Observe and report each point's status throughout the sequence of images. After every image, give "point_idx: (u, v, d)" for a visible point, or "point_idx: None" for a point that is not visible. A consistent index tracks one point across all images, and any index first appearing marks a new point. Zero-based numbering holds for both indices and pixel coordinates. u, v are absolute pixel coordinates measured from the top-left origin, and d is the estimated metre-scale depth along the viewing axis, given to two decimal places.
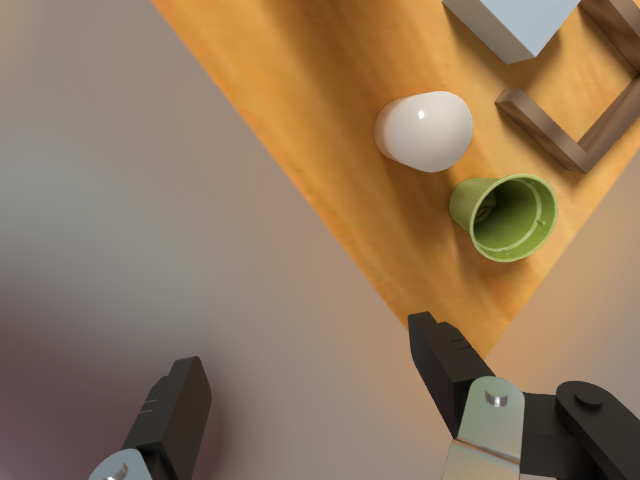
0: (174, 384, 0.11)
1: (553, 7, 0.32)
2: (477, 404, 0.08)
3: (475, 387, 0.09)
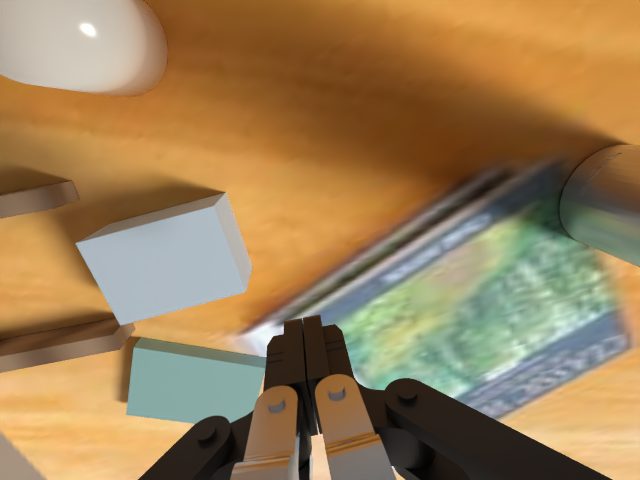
0: (294, 339, 0.12)
1: (124, 285, 0.25)
2: (316, 399, 0.09)
3: (318, 394, 0.09)
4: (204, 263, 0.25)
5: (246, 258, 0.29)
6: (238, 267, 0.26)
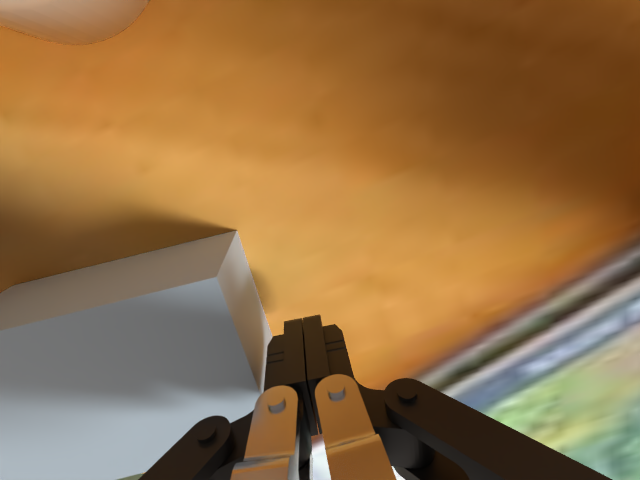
0: (294, 339, 0.12)
1: (19, 434, 0.12)
2: (315, 399, 0.09)
3: (318, 393, 0.09)
4: (192, 391, 0.12)
5: None
6: (263, 390, 0.13)
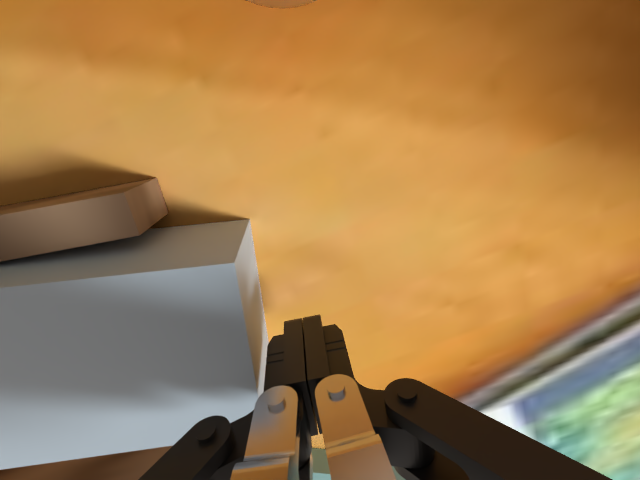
0: (294, 339, 0.12)
1: None
2: (315, 399, 0.09)
3: (318, 393, 0.09)
4: (188, 374, 0.11)
5: (265, 342, 0.16)
6: (258, 382, 0.12)
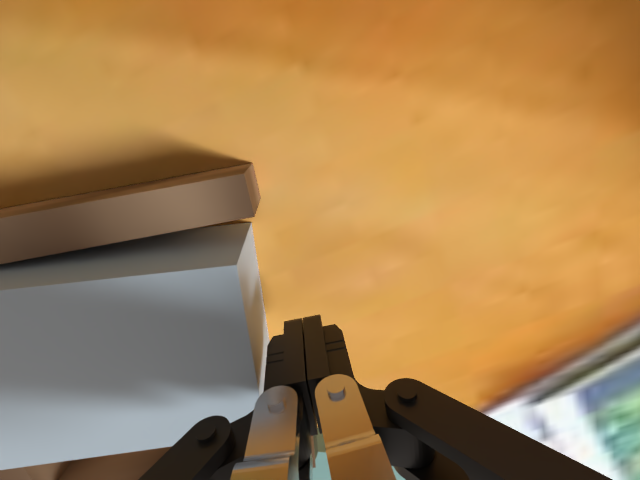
0: (294, 339, 0.12)
1: (4, 398, 0.11)
2: (316, 399, 0.09)
3: (318, 394, 0.09)
4: (191, 375, 0.12)
5: (266, 343, 0.16)
6: (259, 383, 0.13)
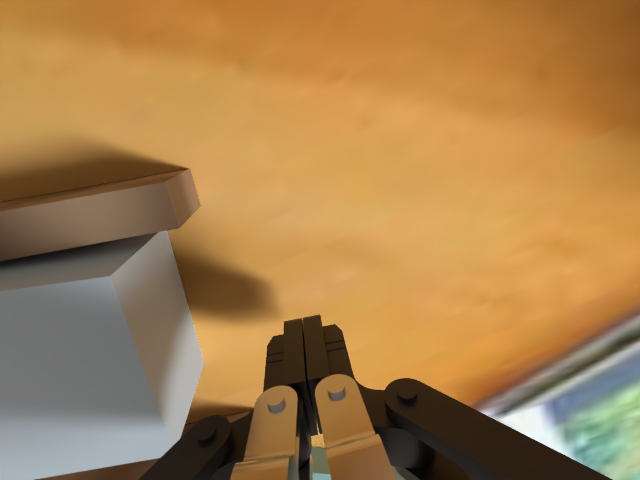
0: (294, 339, 0.12)
1: None
2: (316, 399, 0.09)
3: (318, 393, 0.09)
4: (79, 397, 0.11)
5: (192, 355, 0.15)
6: (164, 402, 0.12)
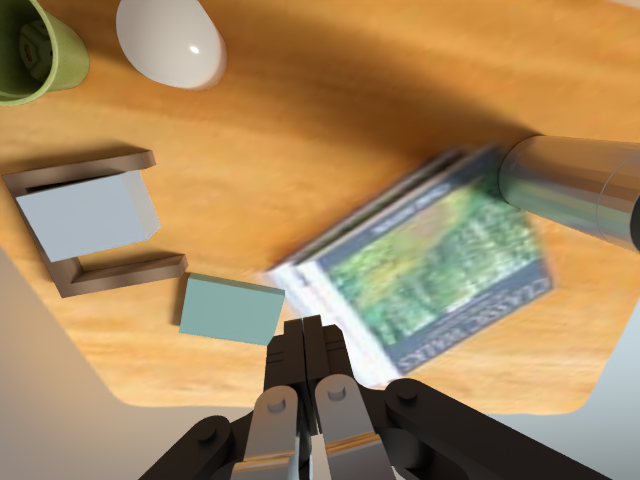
0: (294, 339, 0.12)
1: (53, 231, 0.34)
2: (316, 399, 0.09)
3: (318, 394, 0.09)
4: (114, 217, 0.34)
5: (154, 218, 0.38)
6: (141, 221, 0.35)
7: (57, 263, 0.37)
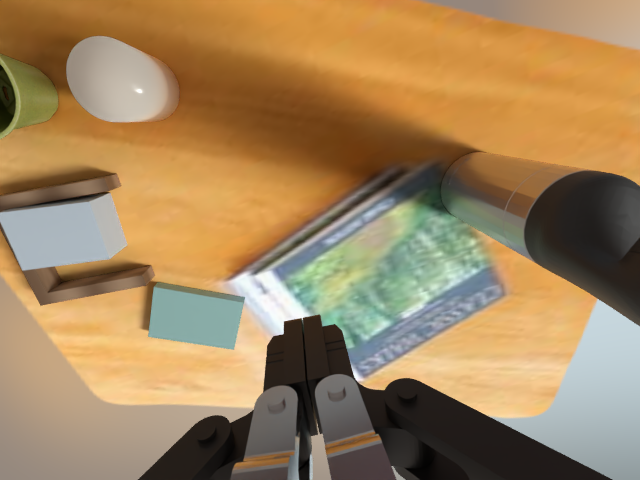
0: (294, 339, 0.12)
1: (26, 244, 0.38)
2: (315, 399, 0.09)
3: (318, 394, 0.09)
4: (81, 237, 0.39)
5: (120, 238, 0.43)
6: (106, 242, 0.40)
7: (35, 274, 0.42)
